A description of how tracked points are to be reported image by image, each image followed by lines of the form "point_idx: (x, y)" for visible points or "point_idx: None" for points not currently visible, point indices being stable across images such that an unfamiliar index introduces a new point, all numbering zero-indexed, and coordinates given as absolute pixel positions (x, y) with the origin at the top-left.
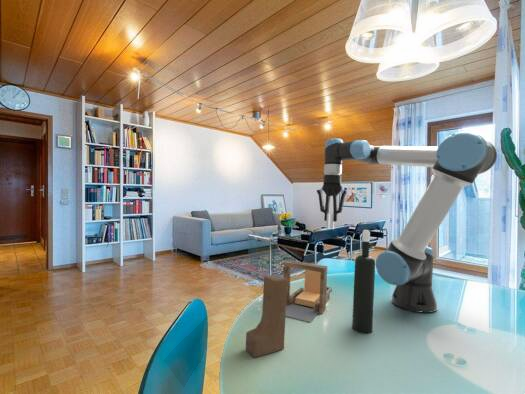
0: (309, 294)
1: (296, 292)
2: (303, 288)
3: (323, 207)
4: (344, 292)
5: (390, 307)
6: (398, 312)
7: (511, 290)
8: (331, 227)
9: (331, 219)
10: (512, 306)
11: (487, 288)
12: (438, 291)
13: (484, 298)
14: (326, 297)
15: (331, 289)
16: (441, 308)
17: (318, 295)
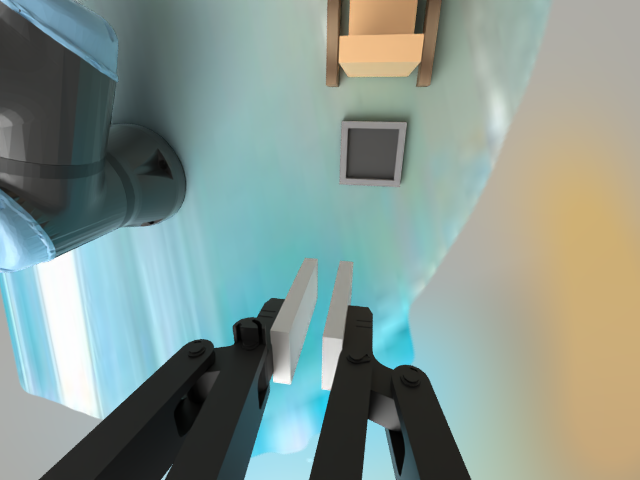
0: (384, 16)
1: (434, 7)
2: (419, 80)
3: (401, 456)
4: (303, 184)
5: (178, 124)
6: (155, 95)
7: (30, 382)
8: (312, 264)
9: (301, 298)
10: (8, 280)
11: (61, 377)
12: (123, 314)
13: (51, 307)
14: (327, 35)
15: (340, 177)
16: None
17: (353, 28)
